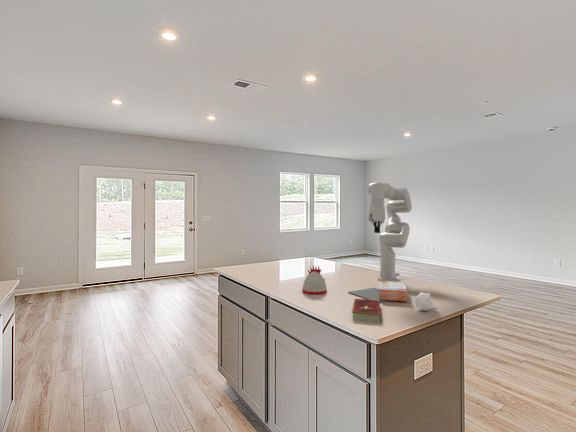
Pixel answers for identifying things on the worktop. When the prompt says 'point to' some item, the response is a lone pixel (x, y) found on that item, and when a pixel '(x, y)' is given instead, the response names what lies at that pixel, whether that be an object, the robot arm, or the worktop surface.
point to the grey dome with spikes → (314, 283)
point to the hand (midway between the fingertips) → (377, 232)
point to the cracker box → (392, 291)
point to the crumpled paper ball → (424, 302)
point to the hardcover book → (366, 310)
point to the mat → (368, 294)
